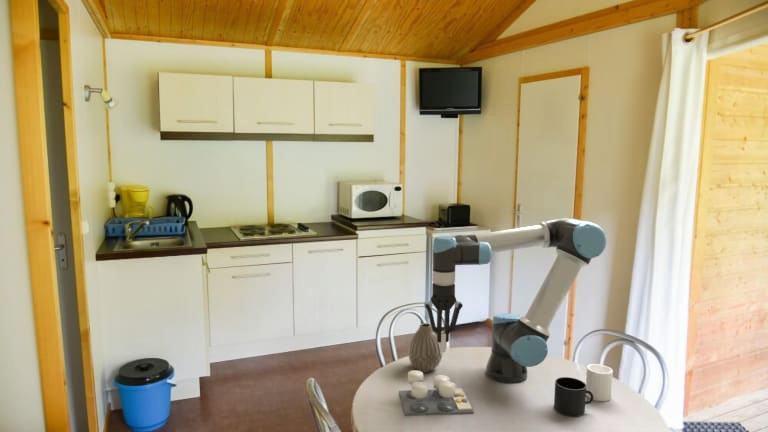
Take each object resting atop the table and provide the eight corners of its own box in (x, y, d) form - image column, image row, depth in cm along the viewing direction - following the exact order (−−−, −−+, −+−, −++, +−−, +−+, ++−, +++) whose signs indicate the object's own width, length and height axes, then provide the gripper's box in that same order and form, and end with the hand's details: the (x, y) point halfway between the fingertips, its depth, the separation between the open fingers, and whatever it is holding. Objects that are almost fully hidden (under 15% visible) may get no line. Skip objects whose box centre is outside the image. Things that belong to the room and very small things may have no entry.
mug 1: (596, 418, 158) (598, 391, 157) (557, 416, 160) (558, 388, 159) (588, 404, 167) (590, 378, 166) (551, 401, 169) (552, 376, 168)
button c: (421, 383, 174) (421, 370, 174) (424, 390, 169) (424, 376, 168) (406, 384, 174) (407, 370, 173) (408, 391, 169) (408, 377, 168)
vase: (443, 376, 188) (444, 331, 186) (408, 375, 188) (409, 330, 186) (440, 362, 201) (441, 319, 199) (407, 361, 201) (407, 319, 199)
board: (461, 390, 177) (461, 386, 176) (473, 413, 161) (473, 408, 161) (399, 392, 175) (399, 388, 175) (405, 415, 159) (405, 411, 159)
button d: (425, 396, 165) (426, 381, 165) (428, 403, 160) (428, 388, 160) (410, 396, 165) (410, 382, 164) (412, 404, 160) (412, 389, 159)
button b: (452, 395, 166) (453, 380, 165) (456, 403, 161) (456, 388, 160) (437, 395, 166) (437, 381, 165) (440, 403, 160) (440, 388, 160)
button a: (447, 388, 175) (447, 374, 175) (450, 395, 170) (450, 381, 169) (432, 389, 175) (432, 375, 174) (435, 396, 170) (435, 381, 169)
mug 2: (596, 385, 182) (598, 358, 181) (615, 400, 170) (617, 373, 169) (575, 386, 181) (576, 359, 180) (593, 402, 169) (594, 374, 168)
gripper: (460, 279, 172) (459, 346, 175) (422, 280, 171) (421, 347, 174) (465, 285, 165) (464, 354, 167) (426, 286, 164) (425, 355, 166)
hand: (442, 350), depth 171 cm, fingers closed
